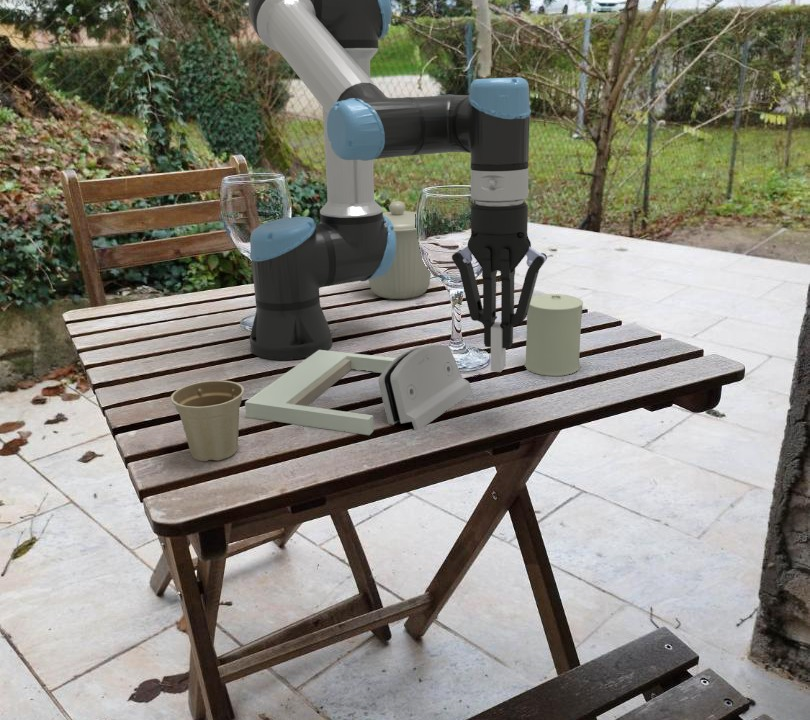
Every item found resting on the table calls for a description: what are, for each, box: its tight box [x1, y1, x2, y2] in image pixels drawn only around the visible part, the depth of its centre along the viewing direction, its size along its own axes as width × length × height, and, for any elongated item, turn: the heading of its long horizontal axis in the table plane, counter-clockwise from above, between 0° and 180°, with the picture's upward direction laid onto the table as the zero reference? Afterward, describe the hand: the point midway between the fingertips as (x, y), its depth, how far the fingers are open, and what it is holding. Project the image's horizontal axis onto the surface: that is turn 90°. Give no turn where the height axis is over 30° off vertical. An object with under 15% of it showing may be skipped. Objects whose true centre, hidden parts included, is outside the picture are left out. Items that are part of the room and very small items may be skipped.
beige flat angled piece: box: [244, 350, 397, 436], centre depth 120 cm, size 20×24×2 cm
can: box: [524, 293, 584, 377], centre depth 128 cm, size 9×9×12 cm
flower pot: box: [170, 379, 245, 462], centre depth 102 cm, size 9×9×9 cm
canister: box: [368, 200, 432, 300], centre depth 172 cm, size 18×18×21 cm
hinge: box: [377, 344, 473, 432], centre depth 114 cm, size 17×5×10 cm, turn 146°
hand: (498, 368), depth 109 cm, fingers closed
